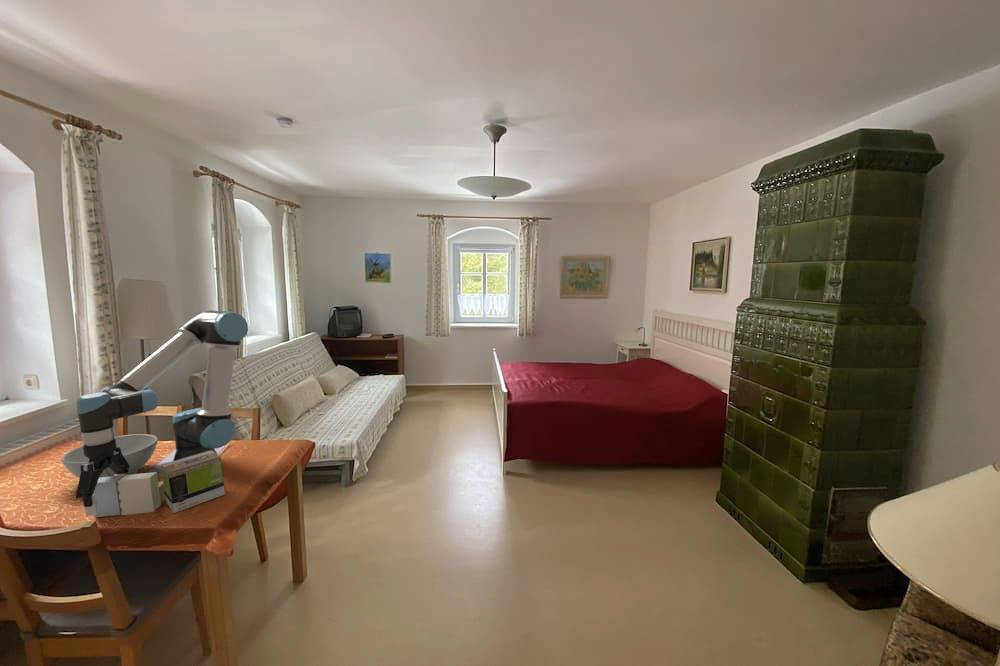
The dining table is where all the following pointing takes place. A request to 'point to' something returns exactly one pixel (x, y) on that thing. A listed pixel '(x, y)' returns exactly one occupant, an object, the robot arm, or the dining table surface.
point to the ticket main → (140, 493)
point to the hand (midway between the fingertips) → (107, 503)
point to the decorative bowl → (132, 448)
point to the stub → (107, 496)
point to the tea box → (192, 480)
